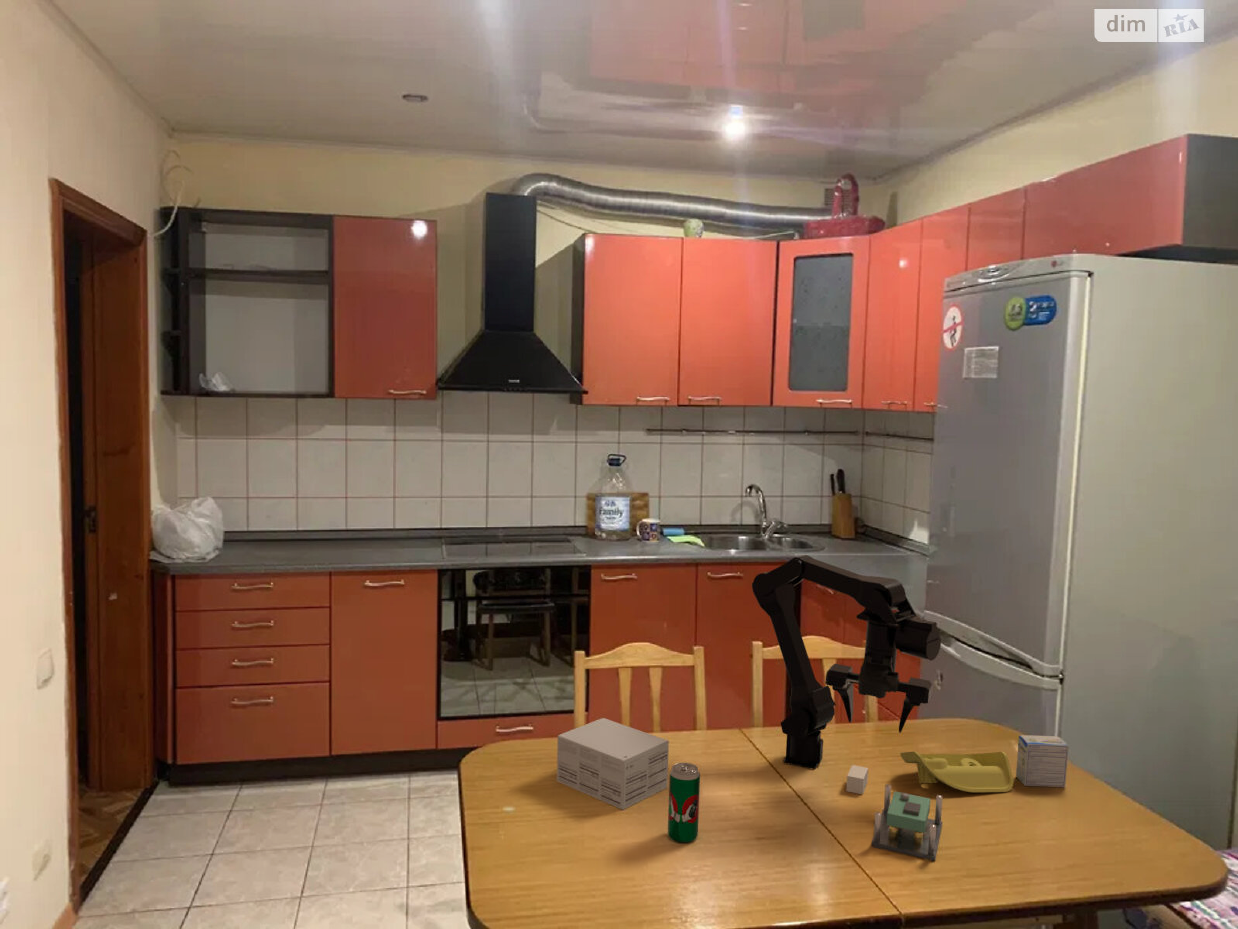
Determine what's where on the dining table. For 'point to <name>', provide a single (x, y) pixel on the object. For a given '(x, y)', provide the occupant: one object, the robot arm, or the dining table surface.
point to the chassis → (908, 833)
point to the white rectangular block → (857, 779)
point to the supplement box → (613, 762)
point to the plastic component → (964, 770)
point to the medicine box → (1042, 761)
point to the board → (908, 812)
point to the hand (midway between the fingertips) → (875, 726)
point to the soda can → (683, 802)
